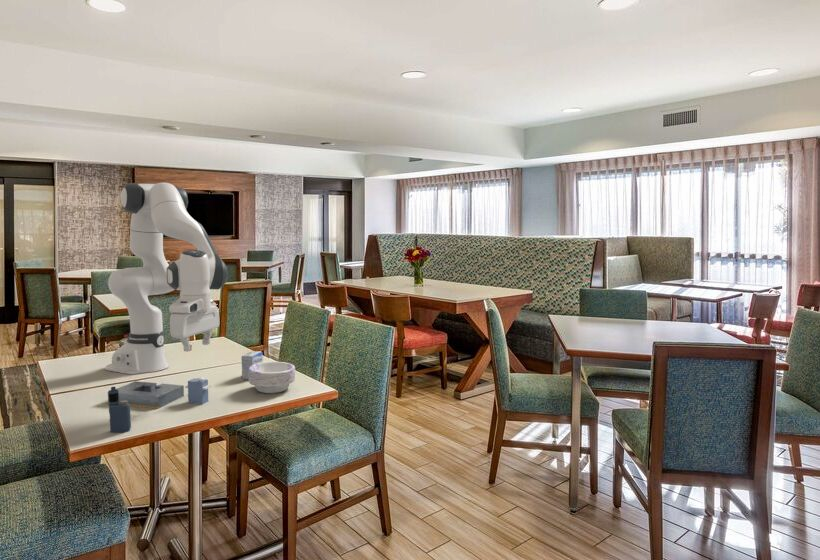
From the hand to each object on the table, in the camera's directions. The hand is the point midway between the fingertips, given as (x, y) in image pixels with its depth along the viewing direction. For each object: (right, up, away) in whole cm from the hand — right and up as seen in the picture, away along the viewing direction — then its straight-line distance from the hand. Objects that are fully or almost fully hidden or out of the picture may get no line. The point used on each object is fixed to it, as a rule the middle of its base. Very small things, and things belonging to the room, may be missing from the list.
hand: (197, 347), depth 167 cm
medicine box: (+8, -15, +31) cm, 35 cm away
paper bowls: (+19, -16, +16) cm, 30 cm away
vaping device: (-12, -20, -22) cm, 32 cm away
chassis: (-17, -17, +4) cm, 24 cm away
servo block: (0, -17, +2) cm, 17 cm away
